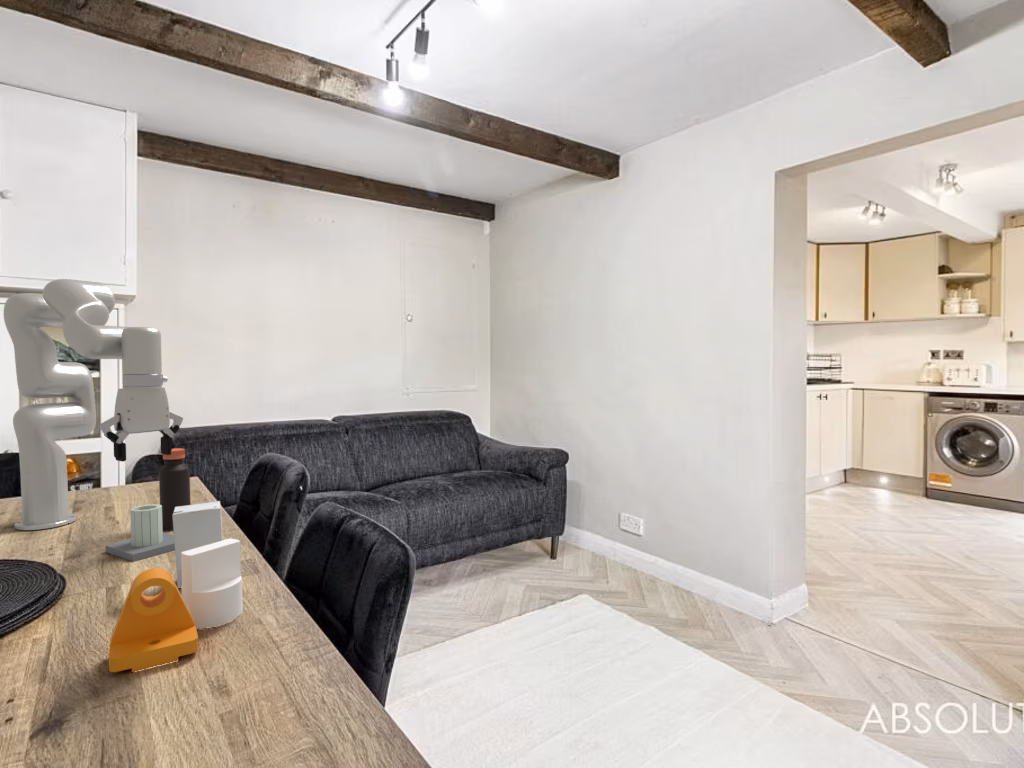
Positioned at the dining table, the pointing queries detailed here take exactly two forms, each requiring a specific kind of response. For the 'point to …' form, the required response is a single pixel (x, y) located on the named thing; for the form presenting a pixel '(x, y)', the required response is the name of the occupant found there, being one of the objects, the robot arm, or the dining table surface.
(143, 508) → the sage tube
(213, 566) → the cylinder with rectangular tab
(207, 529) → the skincare box
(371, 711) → the dining table surface
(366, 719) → the dining table surface
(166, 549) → the roll stand
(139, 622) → the bracket
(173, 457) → the bottle
